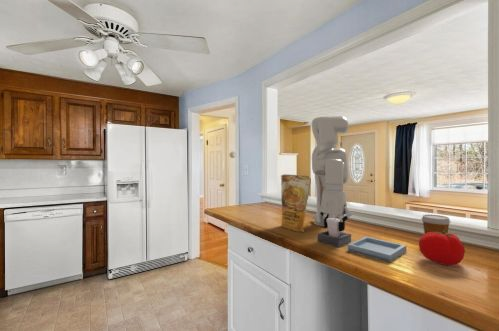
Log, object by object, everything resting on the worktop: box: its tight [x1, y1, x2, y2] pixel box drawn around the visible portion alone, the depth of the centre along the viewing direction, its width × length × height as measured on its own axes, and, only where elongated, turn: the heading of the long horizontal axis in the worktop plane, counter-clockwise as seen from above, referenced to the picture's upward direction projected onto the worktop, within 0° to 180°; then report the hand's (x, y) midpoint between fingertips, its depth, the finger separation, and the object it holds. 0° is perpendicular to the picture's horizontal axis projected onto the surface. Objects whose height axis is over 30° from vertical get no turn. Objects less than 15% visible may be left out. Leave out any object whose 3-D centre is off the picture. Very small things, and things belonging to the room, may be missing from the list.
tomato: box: [418, 231, 466, 266], centre depth 86 cm, size 13×12×11 cm
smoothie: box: [326, 215, 340, 238], centre depth 108 cm, size 6×6×14 cm
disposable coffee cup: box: [420, 214, 452, 234], centre depth 102 cm, size 10×10×12 cm
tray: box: [347, 236, 407, 263], centre depth 96 cm, size 15×15×2 cm
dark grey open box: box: [316, 229, 352, 248], centre depth 108 cm, size 10×10×4 cm
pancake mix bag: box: [280, 174, 312, 233], centre depth 131 cm, size 7×19×28 cm, turn 35°
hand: (334, 228), depth 108 cm, fingers closed on smoothie, 6 cm apart
